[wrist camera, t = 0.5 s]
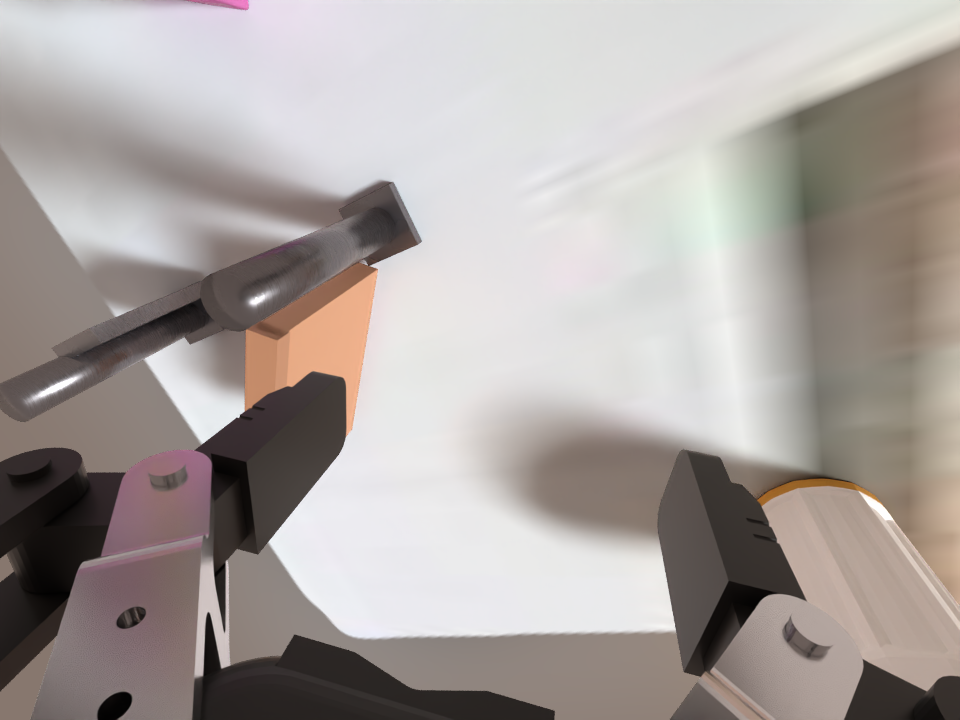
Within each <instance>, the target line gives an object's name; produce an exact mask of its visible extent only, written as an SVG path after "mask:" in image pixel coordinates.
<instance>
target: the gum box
mask: <svg viewBox="0 0 960 720" xmlns="http://www.w3.org/2000/svg"><path fill="white" fill-rule="evenodd" d="M187 1H192V2H198V3H204V4H210V5H216V6H223V7H229V8H236V9H243V10H248V9H249V5H248V0H187Z"/></svg>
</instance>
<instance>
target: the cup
mask: <svg viewBox="0 0 960 720" xmlns="http://www.w3.org/2000/svg"><path fill="white" fill-rule="evenodd" d="M757 501H758V502H759V503H760V504H761V506H762V509H763V511H764V513H765V515H766V517H767V519H768V521H769V527H772V529H773V531H774V534H775V536H776V538H777V543H779V544H780V546H781V548H782V550H783V552H784V554H785V556H786V558H787V561H788V563H789V565H790V567H791V569H792V571H793V573H794V575H795V577H796V579H797V581H798V583H799V585H800V588H801V590H802V592H803V594H804V596H805V598H806V600H807V602H809V603H811V604H813V605H814V606H816V607H818V608H819V609H821V610H823V611H824V612H825V613H827V614H828V615H830V616H831V617H832V618H833V619H834V620H836V621H837V622H838V623H839V624H840V625H841V626H842V627H843V628H844V629H845V630H846V631H847V633H848V634H849V635H850V636H851V637H852V639H853V640H854V642H855V643H856V645H857V647H858V649H859V651H860V653H861V656H862V659H864V660H866V661H867V662H869V663H871V664H873V665H875V666H877V667H879V668H881V669H883V670H885V671H887V672H889V673H891V674H893V675H895V676H897V677H899V678H901V679H903V680H905V681H907V682H909V683H911V684H913V685H915V686H917V687H919V688H921V689H923V690H925V691H928V690H929V689H930V688H931V687H932V685H933V684H934V683H935V682H936V681H937V680H938V679H939V678H941V677H943V676H959V677H960V605H959V604H958V603H957V602H956V600H955V599H954V598H953V596H952V595H951V594H950V593H949V591H948V590H947V589H946V587H945V586H944V585H943V583H942V582H941V581H940V580H939V578H938V577H937V576H936V574H935V573H934V572H933V571H932V569H931V568H930V567H929V565H928V564H927V563H926V561H925V560H924V559H923V558H922V556H921V555H920V554H919V552H918V551H917V550H916V548H915V547H914V546H913V545H912V543H911V542H910V541H909V539H908V538H907V537H906V536H905V534H904V533H903V532H902V530H901V529H900V528H899V526H898V525H897V524H896V523H895V521H894V520H893V518H892V517H891V516H890V514H889V513H888V511H887V510H886V509H885V508H884V506H883V505H882V503H881V502H880V501H879V500H878V499H877V498H876V496H875V495H873V494H871V493H870V492H868V491H867V490H865V489H863V488H861V487H859V486H857V485H855V484H853V483H850V482H844V481H839V480H832V479H824V478H823V479H807V480H798V481H792V482H790V483H787V484H784V485H782V486H779V487H777V488H775V489H772V490H770V491H768V492H767V493H766V494H764V495H763V496H762V497H760V498H759V499H758V500H757Z"/></svg>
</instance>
